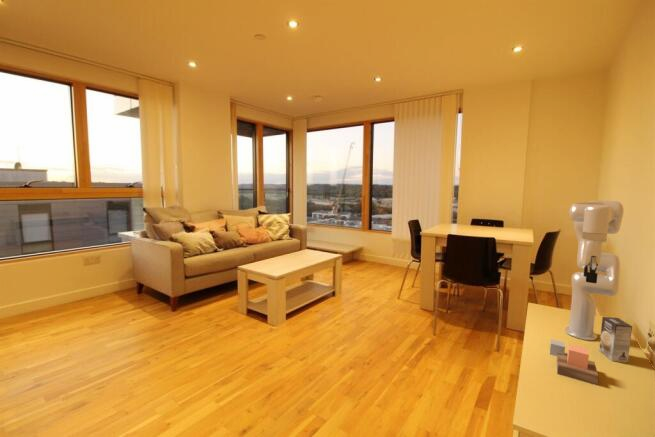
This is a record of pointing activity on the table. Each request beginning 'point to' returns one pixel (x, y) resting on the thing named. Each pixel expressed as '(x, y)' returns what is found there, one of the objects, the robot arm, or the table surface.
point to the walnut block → (577, 370)
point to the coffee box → (615, 339)
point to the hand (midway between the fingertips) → (589, 279)
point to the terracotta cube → (577, 356)
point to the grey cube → (557, 347)
